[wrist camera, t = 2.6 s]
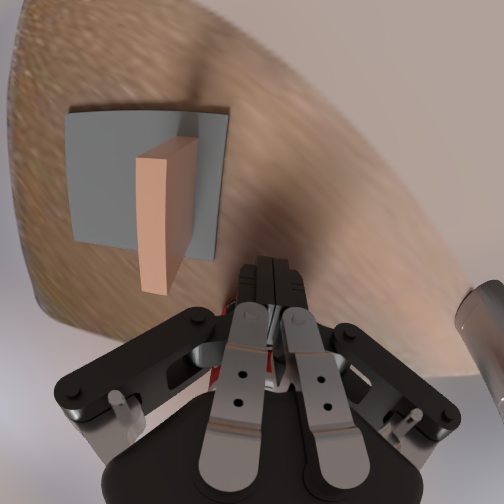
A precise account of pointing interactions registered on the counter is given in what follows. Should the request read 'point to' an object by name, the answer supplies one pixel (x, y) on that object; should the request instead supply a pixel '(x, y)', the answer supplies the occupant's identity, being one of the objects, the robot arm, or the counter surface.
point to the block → (164, 210)
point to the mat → (124, 172)
